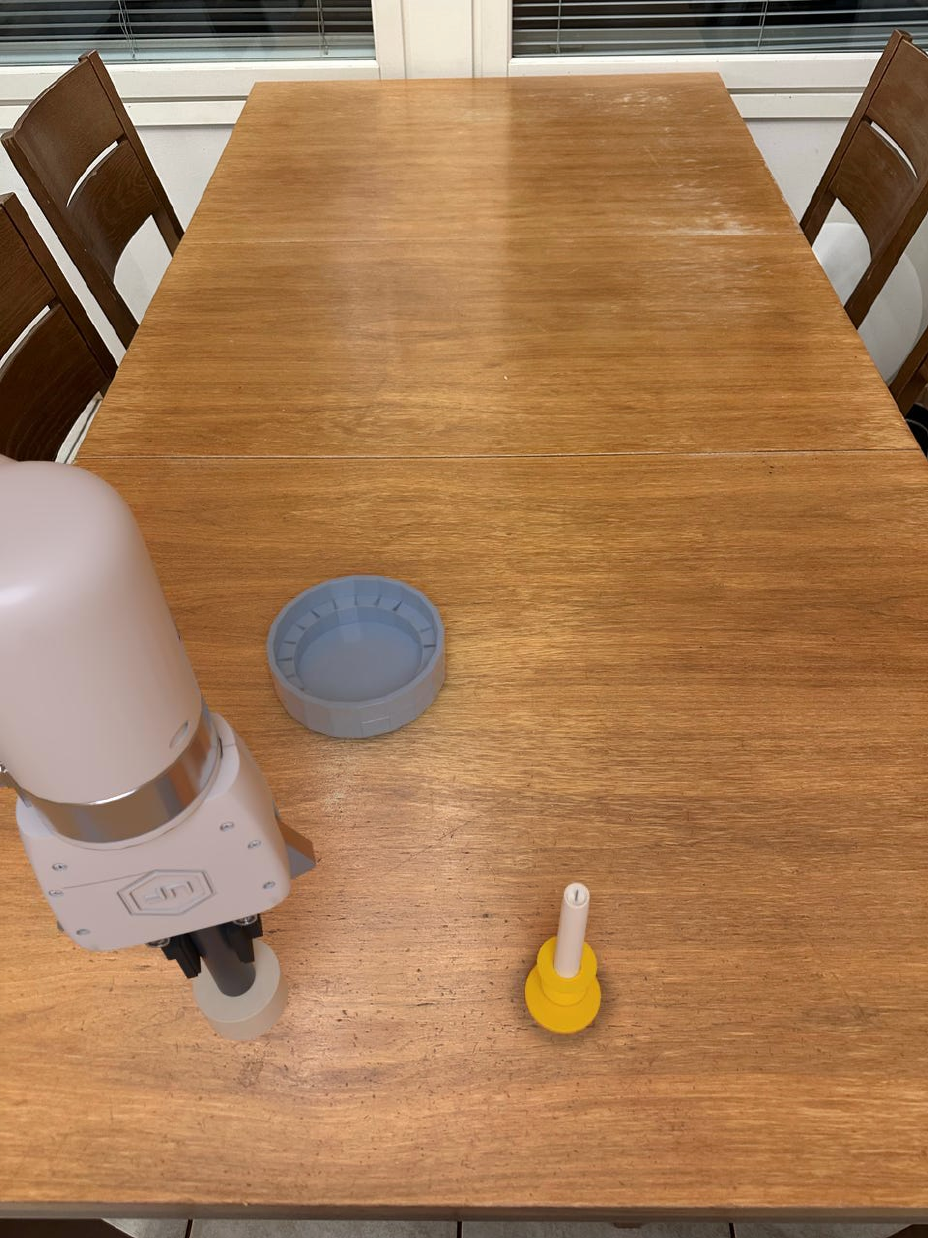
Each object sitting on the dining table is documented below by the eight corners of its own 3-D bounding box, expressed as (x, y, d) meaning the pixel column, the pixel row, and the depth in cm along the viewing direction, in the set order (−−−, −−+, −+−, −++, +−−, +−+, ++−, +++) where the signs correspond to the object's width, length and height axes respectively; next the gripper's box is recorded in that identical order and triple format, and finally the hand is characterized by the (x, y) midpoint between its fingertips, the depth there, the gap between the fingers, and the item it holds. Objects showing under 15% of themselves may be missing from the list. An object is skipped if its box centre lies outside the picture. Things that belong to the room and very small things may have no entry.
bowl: (288, 761, 79) (278, 725, 75) (266, 630, 89) (257, 593, 85) (465, 720, 81) (463, 684, 77) (424, 598, 91) (421, 560, 87)
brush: (208, 1051, 55) (145, 958, 45) (201, 969, 58) (142, 866, 48) (293, 1027, 55) (250, 931, 46) (282, 948, 59) (240, 842, 49)
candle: (590, 1044, 63) (613, 945, 51) (515, 1020, 64) (520, 918, 53) (607, 971, 66) (632, 862, 55) (535, 948, 67) (544, 838, 56)
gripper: (-107, 882, 34) (66, 1056, 48) (331, 778, 37) (377, 971, 50) (-81, 721, 39) (69, 919, 53) (303, 638, 41) (352, 848, 55)
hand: (219, 943), depth 51 cm, fingers closed on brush
